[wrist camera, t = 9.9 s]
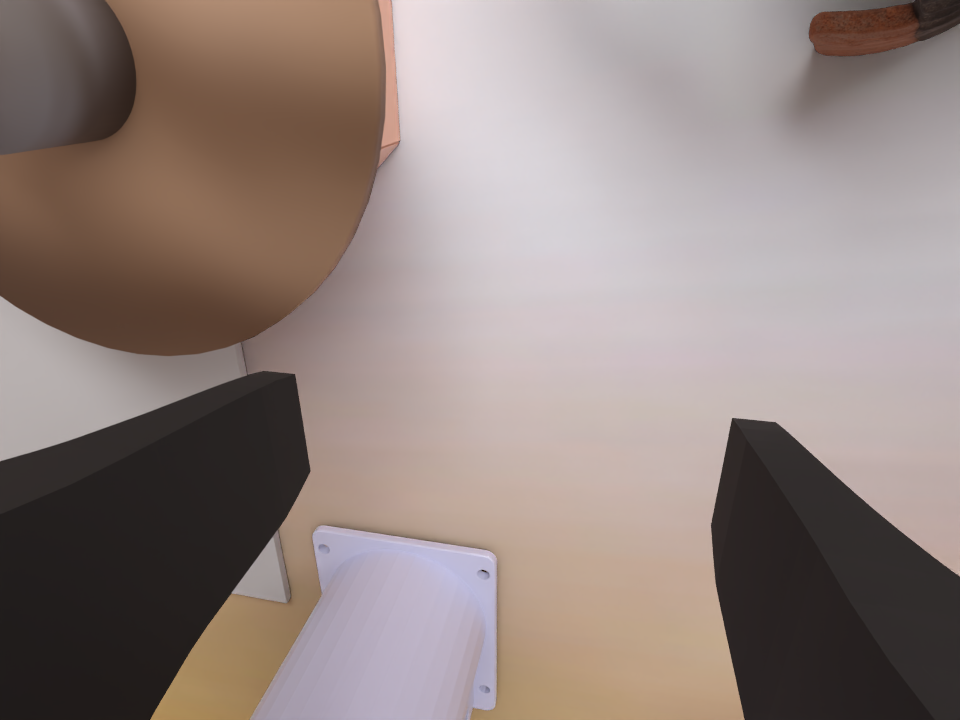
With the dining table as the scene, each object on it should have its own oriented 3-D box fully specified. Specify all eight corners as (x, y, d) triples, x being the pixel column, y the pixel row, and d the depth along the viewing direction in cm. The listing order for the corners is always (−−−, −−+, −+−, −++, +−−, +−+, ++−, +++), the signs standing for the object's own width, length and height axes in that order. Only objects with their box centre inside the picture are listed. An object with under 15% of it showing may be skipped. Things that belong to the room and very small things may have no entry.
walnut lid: (398, 377, 16) (353, 438, 14) (-57, 317, 19) (-166, 358, 17) (366, -452, 10) (268, -640, 7) (-323, -360, 13) (-574, -471, 10)
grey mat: (291, 597, 29) (286, 603, 29) (13, 546, 32) (6, 552, 32) (227, 272, 22) (220, 275, 22) (-120, 249, 25) (-130, 252, 25)
